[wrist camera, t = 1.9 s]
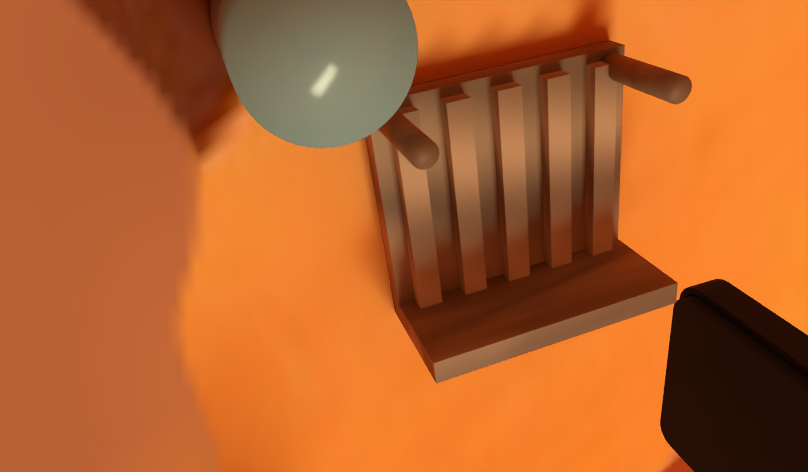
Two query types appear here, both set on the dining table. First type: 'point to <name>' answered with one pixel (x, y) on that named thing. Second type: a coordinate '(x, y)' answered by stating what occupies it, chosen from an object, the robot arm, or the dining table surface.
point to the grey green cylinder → (318, 64)
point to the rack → (513, 206)
